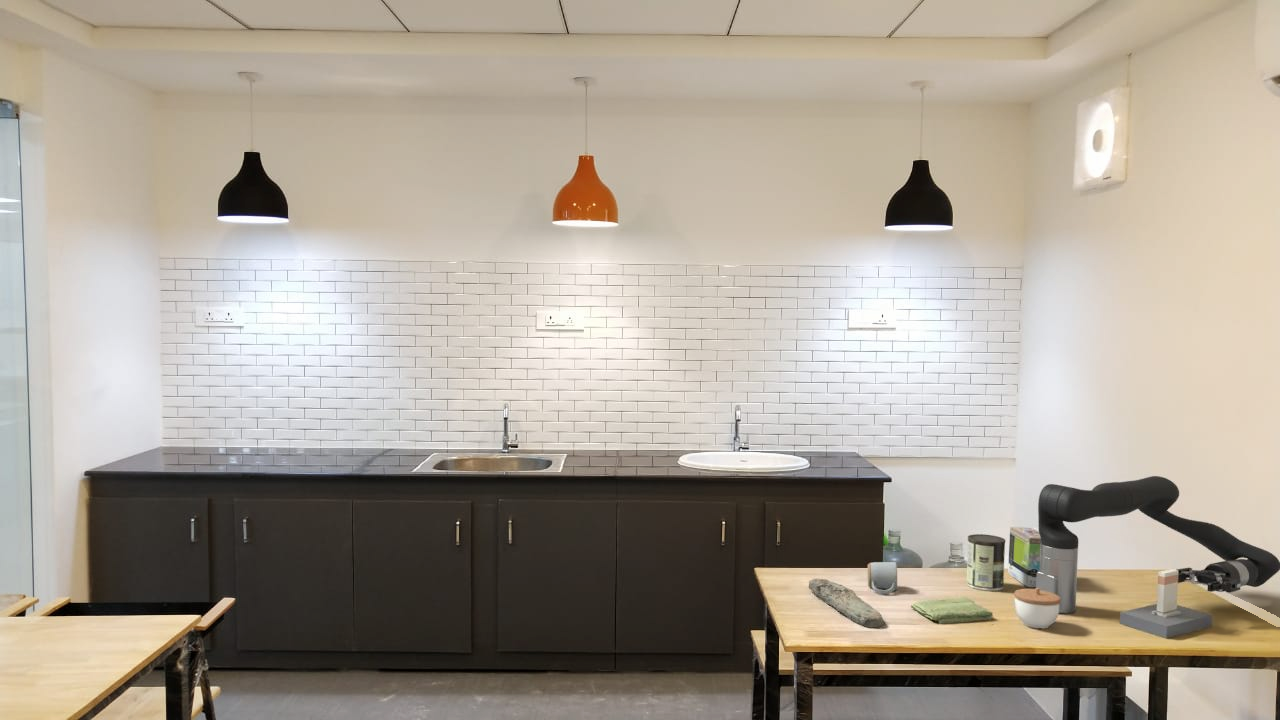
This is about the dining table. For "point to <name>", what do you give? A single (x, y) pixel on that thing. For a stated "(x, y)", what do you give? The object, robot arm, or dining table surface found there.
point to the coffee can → (985, 562)
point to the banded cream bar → (1167, 592)
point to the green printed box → (1024, 554)
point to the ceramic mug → (882, 577)
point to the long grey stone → (846, 602)
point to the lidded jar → (1037, 607)
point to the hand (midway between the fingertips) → (1192, 583)
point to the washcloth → (952, 610)
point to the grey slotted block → (1166, 620)
